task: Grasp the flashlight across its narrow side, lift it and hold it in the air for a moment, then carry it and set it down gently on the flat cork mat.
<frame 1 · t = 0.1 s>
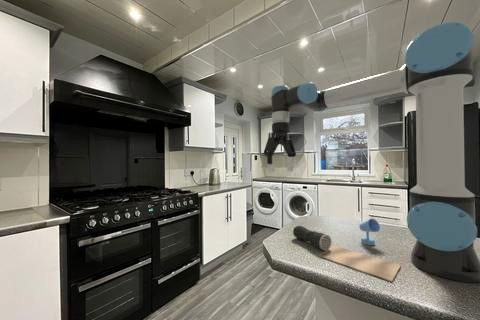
hand: (281, 171, 88), 28 cm above the worktop, fingers open, 13 cm apart
spotlight: (368, 243, 79), on the worktop
mat: (357, 261, 65), on the worktop
flashlight: (311, 244, 78), on the worktop, touching mat
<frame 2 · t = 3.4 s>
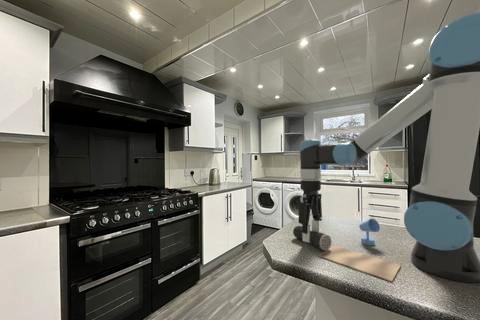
hand: (311, 239, 78), 2 cm above the worktop, fingers closed on flashlight, 6 cm apart
flashlight: (311, 244, 78), on the worktop, touching gripper, mat
everything else where it was.
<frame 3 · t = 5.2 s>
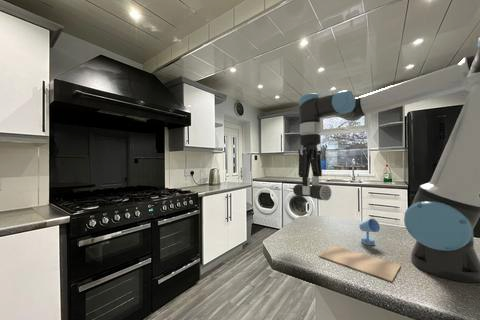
hand: (311, 193, 79), 20 cm above the worktop, fingers closed on flashlight, 6 cm apart
flashlight: (311, 198, 79), point 18 cm above the worktop, touching gripper
everything else where it was.
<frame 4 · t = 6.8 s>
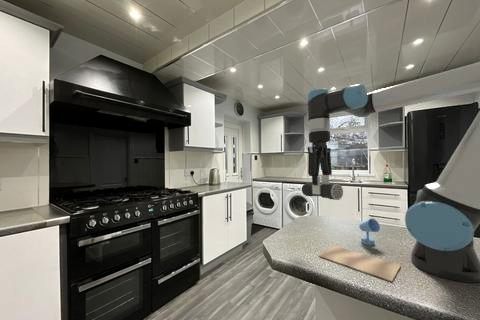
hand: (321, 193, 75), 20 cm above the worktop, fingers closed on flashlight, 6 cm apart
flashlight: (321, 198, 75), point 18 cm above the worktop, touching gripper
everything else where it was.
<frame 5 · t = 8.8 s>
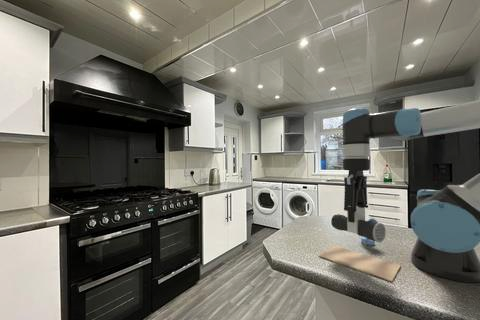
hand: (356, 229, 65), 10 cm above the worktop, fingers closed on flashlight, 6 cm apart
flashlight: (356, 235, 65), point 8 cm above the worktop, touching gripper
everything else where it was.
when the fingers open (3 cm above the worktop, at t = 10.4 s): flashlight stays where it is, resting on mat.
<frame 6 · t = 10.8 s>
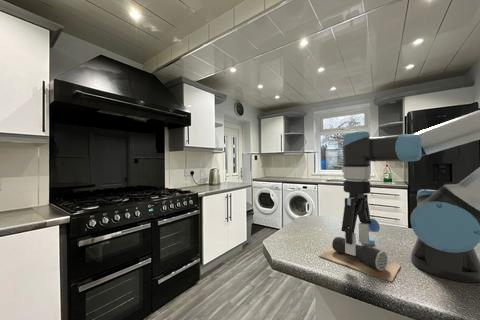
hand: (357, 248, 65), 4 cm above the worktop, fingers open, 11 cm apart
flashlight: (358, 260, 65), resting on mat
everything else where it was.
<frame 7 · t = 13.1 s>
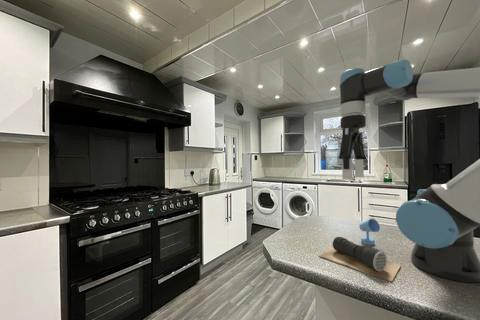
hand: (353, 178, 69), 26 cm above the worktop, fingers open, 13 cm apart
nothing on the worktop moved.
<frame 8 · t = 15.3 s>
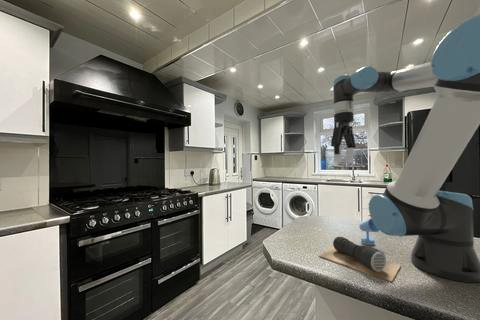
hand: (344, 162, 87), 32 cm above the worktop, fingers open, 13 cm apart
nothing on the worktop moved.
at the end: flashlight inside the target area on the mat (0.1 cm from its centre), point 0.2 cm above the mat's base; the gripper is holding nothing; flashlight moved 17.1 cm from its start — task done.
